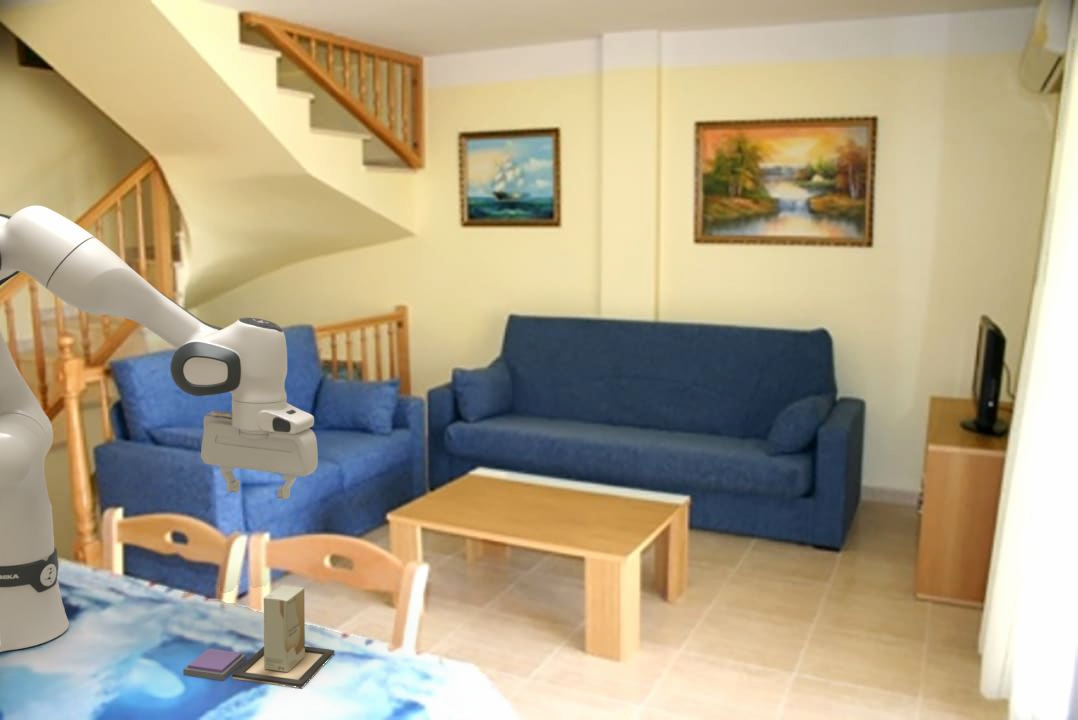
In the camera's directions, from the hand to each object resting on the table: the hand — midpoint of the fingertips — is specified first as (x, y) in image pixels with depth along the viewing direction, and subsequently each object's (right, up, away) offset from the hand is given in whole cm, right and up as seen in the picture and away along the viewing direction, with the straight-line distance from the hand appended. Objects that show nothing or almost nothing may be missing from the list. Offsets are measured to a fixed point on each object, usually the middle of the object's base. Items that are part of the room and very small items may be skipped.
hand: (258, 494), depth 159 cm
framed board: (+6, -27, -6) cm, 28 cm away
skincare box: (+6, -27, -5) cm, 28 cm away
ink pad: (-5, -27, -7) cm, 28 cm away
